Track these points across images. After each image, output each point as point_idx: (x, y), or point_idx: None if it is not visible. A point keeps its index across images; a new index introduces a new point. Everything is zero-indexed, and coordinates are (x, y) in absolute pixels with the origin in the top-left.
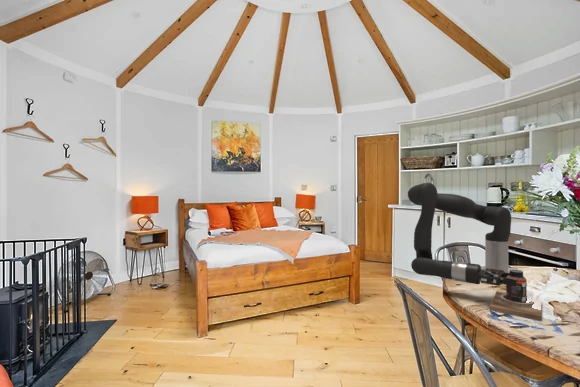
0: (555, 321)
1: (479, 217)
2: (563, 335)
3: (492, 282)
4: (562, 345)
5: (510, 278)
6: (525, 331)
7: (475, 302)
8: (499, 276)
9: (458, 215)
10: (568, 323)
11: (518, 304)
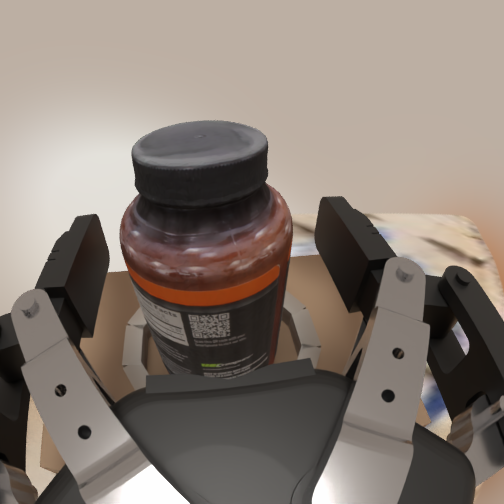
0: (301, 242)
1: None
2: (395, 226)
3: (450, 371)
4: (446, 226)
5: (286, 232)
6: None
7: None
8: (100, 382)
9: None
10: None
11: (309, 319)
